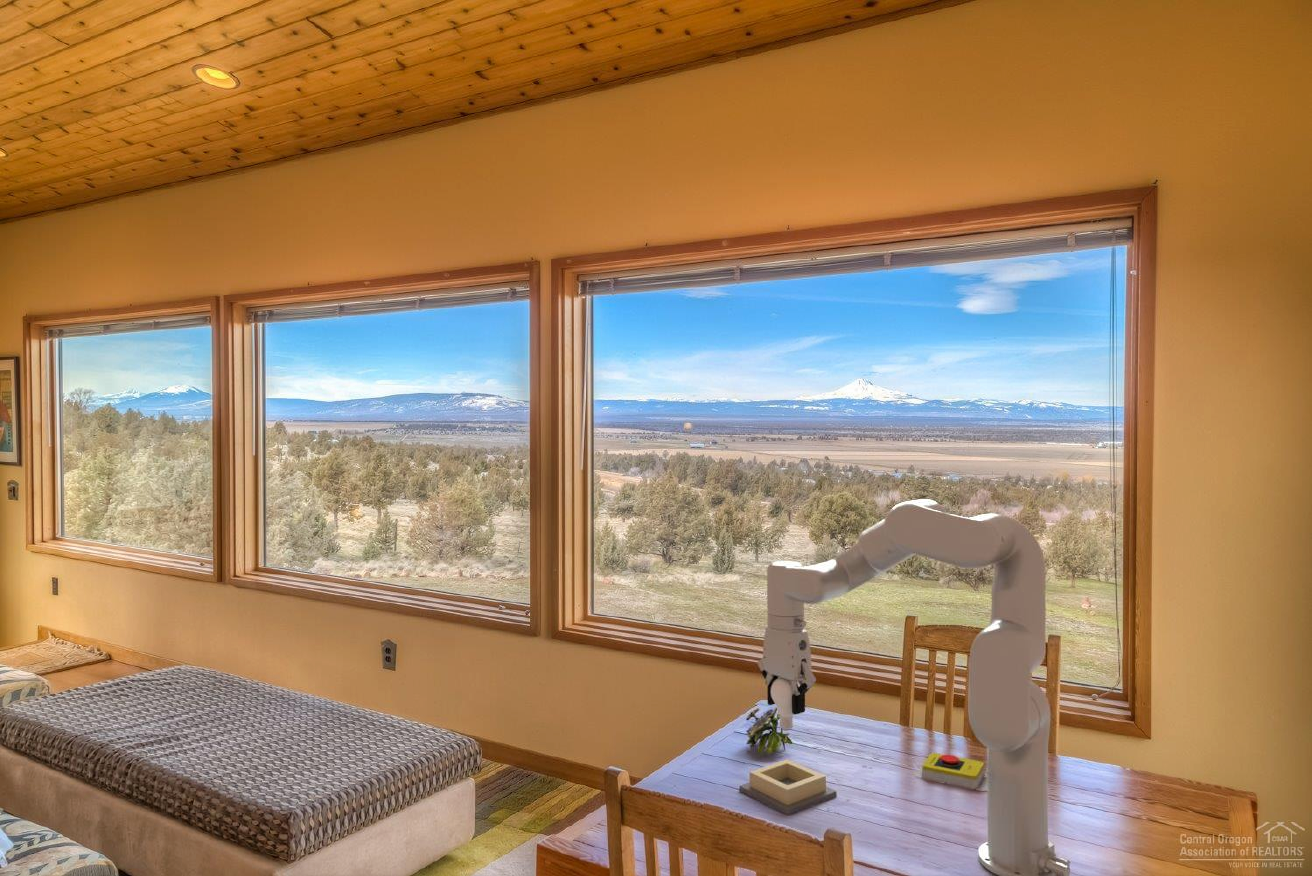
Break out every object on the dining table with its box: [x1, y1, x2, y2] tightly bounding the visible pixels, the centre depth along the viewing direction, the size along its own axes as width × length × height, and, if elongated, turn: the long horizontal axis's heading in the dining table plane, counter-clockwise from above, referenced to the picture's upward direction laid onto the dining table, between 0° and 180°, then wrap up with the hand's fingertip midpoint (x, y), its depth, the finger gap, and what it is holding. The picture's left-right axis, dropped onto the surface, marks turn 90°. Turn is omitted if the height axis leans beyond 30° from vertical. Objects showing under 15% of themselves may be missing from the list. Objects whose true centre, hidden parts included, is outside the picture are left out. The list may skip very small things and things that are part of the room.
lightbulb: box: [771, 677, 800, 732], centre depth 170 cm, size 6×6×11 cm
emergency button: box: [914, 752, 987, 793], centre depth 178 cm, size 9×4×15 cm
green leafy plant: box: [745, 706, 793, 758], centre depth 195 cm, size 11×11×12 cm
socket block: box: [739, 758, 837, 816], centre depth 170 cm, size 14×14×4 cm
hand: (786, 707), depth 170 cm, fingers closed on lightbulb, 6 cm apart
